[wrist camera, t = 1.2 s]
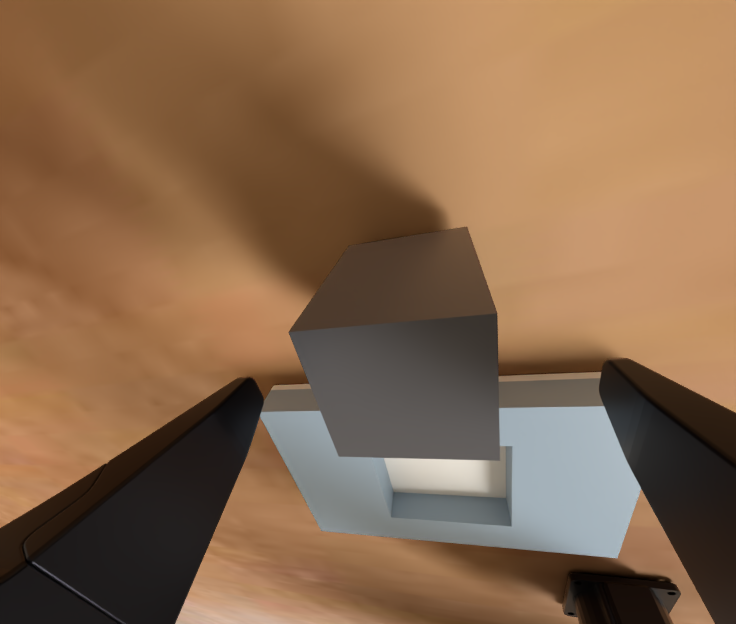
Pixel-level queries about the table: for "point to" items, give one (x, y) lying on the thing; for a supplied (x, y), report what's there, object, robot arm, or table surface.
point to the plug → (405, 350)
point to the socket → (475, 474)
